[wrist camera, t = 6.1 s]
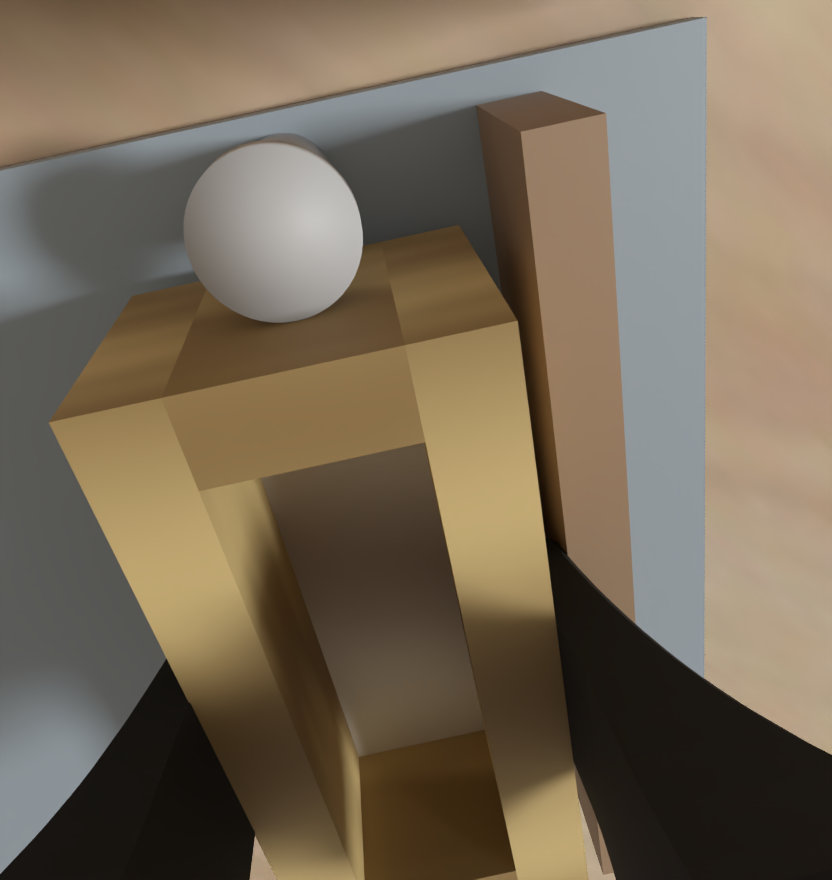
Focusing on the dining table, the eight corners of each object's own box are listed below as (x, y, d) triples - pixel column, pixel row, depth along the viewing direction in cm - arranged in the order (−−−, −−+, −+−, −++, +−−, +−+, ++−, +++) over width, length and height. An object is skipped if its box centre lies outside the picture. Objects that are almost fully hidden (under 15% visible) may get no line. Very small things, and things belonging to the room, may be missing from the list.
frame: (536, 713, 17) (590, 894, 13) (316, 760, 17) (314, 953, 13) (459, 224, 11) (517, 320, 8) (131, 295, 11) (48, 422, 8)
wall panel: (695, 722, 19) (773, 871, 16) (-299, 935, 19) (-431, 1129, 16) (692, 16, 11) (844, 17, 8) (-982, 380, 12) (-1522, 532, 8)
